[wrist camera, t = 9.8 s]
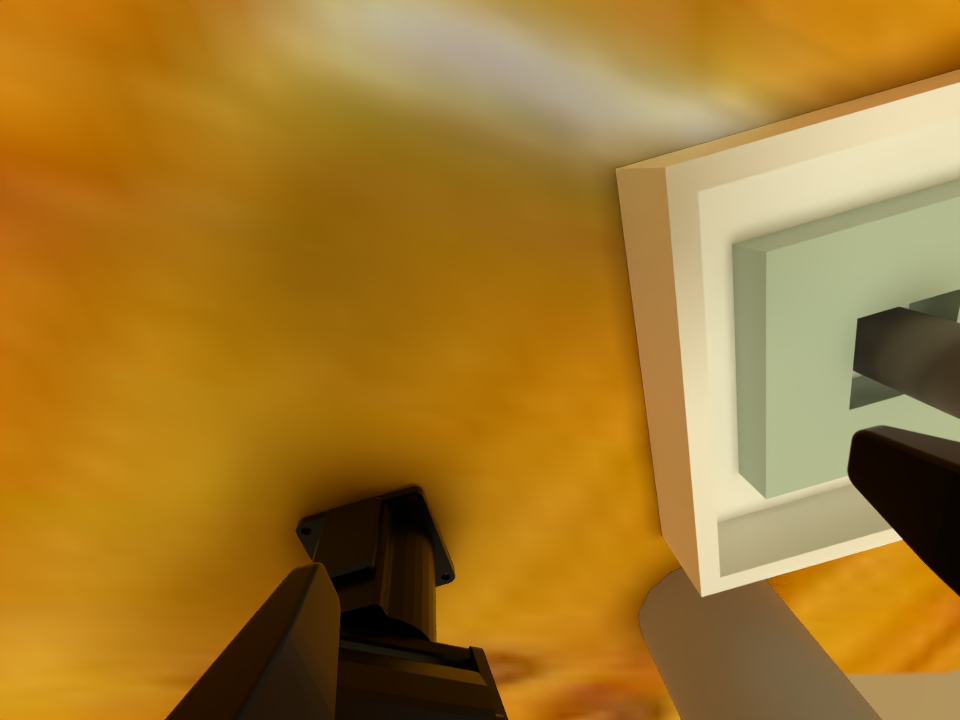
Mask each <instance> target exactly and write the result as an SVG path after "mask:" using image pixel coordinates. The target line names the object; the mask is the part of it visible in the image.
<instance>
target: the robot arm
mask: <svg viewBox="0 0 960 720" xmlns="http://www.w3.org/2000/svg"><path fill="white" fill-rule="evenodd" d="M847 473H848V477H849V479H850V481H851V483H852V484H853V485H854V487H855V488H856V489H857V490H858V491H859V492H860V493H861V494H862V495H863V497H864V498H865V499H866V500H867V501H868V502H869V503H870V504H871V505H872V506H873V507H874V509H875V510H876V511H877V512H878V513H879V514H880V515H881V516H882V517H883V518H884V520H885V521H886V522H887V523H888V524H889V525H890V526H891V527H892V528H893V529H894V530H895V532H896V533H897V534H898V535H899V536H900V537H901V538H902V539H903V540H904V541H905V542H906V544H907V545H908V546H909V547H910V548H911V549H912V550H913V551H914V552H915V553H916V554H917V555H918V557H919V558H920V559H921V560H922V561H923V562H924V563H925V564H926V565H927V566H928V567H929V568H930V569H931V570H932V571H933V572H934V573H935V574H936V575H937V576H938V577H939V578H940V579H941V580H942V581H943V582H944V583H946V584H947V585H948V586H949V587H950V588H951V589H952V590H953V591H954V592H955V593H956V594H957V595H958V596H959V597H960V442H958V441H954V440H949V439H945V438H940V437H936V436H931V435H927V434H922V433H918V432H913V431H909V430H904V429H900V428H895V427H891V426H886V425H878V426H873V427H869V428H865V429H861V430H858V431H856V432H855V433H854V435H853V436H852V439H851V446H850V452H849V459H848V466H847ZM412 496H416V497H418V498H416V499H412V498H410V497H412ZM304 527H309V528H310V529H306V528H304ZM296 533H297V535H298V537H299V539H300V541H301V542H302V544H303V546H304V547H305V549H306V551H307V553H308V554H309V556H310V558H311V560H312V562H311V564H307V565H303V566H298V567H296V568H294V569H293V570H292V571H291V572H290V573H289V574H288V576H287V577H286V578H285V579H284V580H283V581H282V583H281V584H280V585H279V586H278V587H277V588H276V590H275V591H274V592H273V593H272V594H271V595H270V597H269V598H268V599H267V600H266V601H265V603H264V604H263V605H262V606H261V607H260V608H259V610H258V611H257V612H256V613H255V614H254V615H253V617H252V618H251V619H250V620H249V621H248V622H247V624H246V625H245V626H244V627H243V628H242V630H241V631H240V632H239V633H238V634H237V635H236V637H235V638H234V639H233V640H232V641H231V642H230V644H229V645H228V646H227V647H226V648H225V650H224V651H223V652H222V653H221V654H220V655H219V657H218V658H217V659H216V660H215V661H214V662H213V664H212V665H211V666H210V667H209V668H208V669H207V671H206V672H205V673H204V674H203V675H202V677H201V678H200V679H199V680H198V681H197V682H196V684H195V685H194V686H193V687H192V688H191V689H190V691H189V692H188V693H187V694H186V695H185V696H184V698H183V699H182V700H181V701H180V702H179V704H178V705H177V706H176V707H175V708H174V709H173V711H172V712H171V713H170V714H169V715H168V716H167V718H166V719H165V720H508V718H507V715H506V712H505V709H504V706H503V704H502V701H501V698H500V695H499V692H498V690H497V687H496V684H495V681H494V679H493V676H492V673H491V670H490V667H489V665H488V662H487V659H486V656H485V654H484V651H483V649H482V648H477V647H472V646H470V647H469V648H464V647H459V646H453V645H448V644H443V643H438V642H436V593H435V587H437V586H441V585H444V584H448V583H450V582H452V581H453V580H454V578H455V571H454V567H453V564H452V562H451V559H450V557H449V554H448V552H447V549H446V547H445V544H444V542H443V539H442V537H441V534H440V532H439V529H438V527H437V524H436V522H435V519H434V517H433V514H432V512H431V509H430V507H429V504H428V502H427V499H426V497H425V494H424V492H423V490H422V489H420V488H419V487H410V488H406V489H403V490H399V491H396V492H392V493H389V494H385V495H382V496H378V497H373V498H370V499H366V500H363V501H359V502H356V503H352V504H349V505H345V506H342V507H338V508H335V509H332V510H329V511H326V512H323V513H319V514H316V515H312V516H309V517H305V518H303V519H301V520H300V521H299V522H298V525H297V528H296ZM446 573H447V574H446Z"/></svg>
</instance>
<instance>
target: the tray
mask: <svg viewBox="0 0 960 720" xmlns="http://www.w3.org/2000/svg"><path fill="white" fill-rule="evenodd" d="M615 170H616V178H617V186H618V194H619V202H620V210H621V217H622V225H623V233H624V241H625V249H626V257H627V264H628V272H629V280H630V288H631V296H632V304H633V312H634V319H635V327H636V335H637V343H638V351H639V359H640V367H641V374H642V382H643V390H644V398H645V406H646V414H647V421H648V429H649V437H650V445H651V453H652V461H653V469H654V476H655V484H656V492H657V500H658V508H659V516H660V523H661V531H662V537H663V538H664V540H665V541H666V543H667V545H668V546H669V548H670V549H671V551H672V552H673V554H674V555H675V557H676V558H677V560H678V562H679V563H680V565H681V566H682V568H683V569H684V571H685V572H686V574H687V576H688V577H689V579H690V580H691V582H692V583H693V585H694V586H695V588H696V589H697V591H698V593H699V594H700V596H701V597H704V596H708V595H711V594H715V593H718V592H722V591H725V590H729V589H732V588H735V587H739V586H742V585H746V584H749V583H753V582H756V581H760V580H763V579H767V578H770V577H774V576H777V575H781V574H784V573H788V572H791V571H795V570H798V569H802V568H805V567H809V566H812V565H816V564H819V563H823V562H826V561H830V560H833V559H837V558H840V557H844V556H847V555H851V554H854V553H858V552H861V551H865V550H868V549H872V548H875V547H879V546H882V545H886V544H889V543H893V542H896V541H900V540H903V539H902V538H901V537H900V536H899V535H898V534H897V533H896V532H895V530H894V529H893V528H892V527H891V526H890V525H889V524H888V523H887V522H886V521H885V520H884V518H883V517H882V516H881V515H880V514H879V513H878V512H877V511H876V510H875V509H874V507H873V506H872V505H871V504H870V503H869V502H868V501H867V500H866V499H865V498H864V497H863V495H862V494H861V493H860V492H859V491H858V490H857V489H856V488H855V487H854V485H853V484H852V483H851V481H850V479H849V477H848V473H847V466H848V459H849V452H850V446H851V439H852V436H853V435H854V433H855V432H856V431H858V430H861V429H865V428H869V427H873V426H878V425H886V426H891V427H895V428H900V429H904V430H909V431H913V432H918V433H922V434H927V435H931V436H936V437H940V438H945V439H949V440H954V441H958V442H960V419H958V418H956V417H954V416H951V415H949V414H947V413H945V412H943V411H940V410H938V409H936V408H934V407H932V406H929V405H927V404H925V403H923V402H921V401H918V400H916V399H914V398H912V397H910V396H907V395H905V394H903V393H901V392H899V391H896V390H894V389H892V388H890V387H888V386H885V385H883V384H881V383H879V382H877V381H874V380H872V379H870V378H868V377H866V376H863V375H861V374H859V373H857V372H855V371H853V362H854V351H855V339H856V328H857V319H858V318H861V317H865V316H868V315H871V314H875V313H878V312H882V311H885V310H889V309H892V308H896V307H899V306H900V307H903V308H907V309H911V310H914V311H918V312H921V313H925V314H929V315H932V316H936V317H940V318H943V319H947V320H951V321H954V322H958V323H960V69H958V70H955V71H951V72H948V73H944V74H941V75H938V76H934V77H931V78H927V79H924V80H920V81H917V82H913V83H910V84H906V85H903V86H900V87H896V88H893V89H889V90H886V91H882V92H879V93H875V94H872V95H868V96H865V97H862V98H858V99H855V100H851V101H848V102H844V103H841V104H837V105H834V106H830V107H827V108H824V109H820V110H817V111H813V112H810V113H806V114H803V115H799V116H796V117H792V118H789V119H786V120H782V121H779V122H775V123H772V124H768V125H765V126H761V127H758V128H754V129H751V130H748V131H744V132H741V133H737V134H734V135H730V136H727V137H723V138H720V139H716V140H713V141H710V142H706V143H703V144H699V145H696V146H692V147H689V148H685V149H682V150H678V151H675V152H672V153H668V154H665V155H661V156H658V157H654V158H651V159H647V160H644V161H640V162H637V163H634V164H630V165H627V166H623V167H620V168H616V169H615Z"/></svg>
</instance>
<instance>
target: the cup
mask: <svg viewBox="0 0 960 720" xmlns="http://www.w3.org/2000/svg"><path fill="white" fill-rule="evenodd" d="M638 615H639V622H640V629H641V634H642V636H643V638H644V640H645V642H646V645H647V647H648V649H649V651H650V653H651V655H652V658H653V660H654V662H655V664H656V666H657V668H658V670H659V673H660V675H661V677H662V679H663V681H664V683H665V686H666V688H667V690H668V692H669V694H670V696H671V698H672V701H673V703H674V705H675V707H676V709H677V711H678V713H679V716H680V718H681V720H882V719H881V718H880V717H879V715H878V714H877V713H876V712H875V711H874V709H873V708H872V707H871V706H870V705H869V703H868V702H867V701H866V700H865V699H864V697H863V696H862V695H861V694H860V693H859V692H858V690H857V689H856V688H855V687H854V685H853V684H852V683H851V682H850V681H849V679H848V678H847V677H846V676H845V675H844V673H843V672H842V671H841V670H840V669H839V667H838V666H837V665H836V664H835V663H834V661H833V660H832V659H831V658H830V657H829V655H828V654H827V653H826V652H825V651H824V649H823V648H822V647H821V646H820V645H819V643H818V642H817V641H816V640H815V639H814V637H813V636H812V635H811V634H810V633H809V631H808V630H807V629H806V628H805V627H804V625H803V624H802V623H801V622H800V621H799V619H798V618H797V617H796V616H795V614H794V613H793V612H792V611H791V610H790V608H789V607H788V606H787V605H786V604H785V602H784V601H783V600H782V599H781V598H780V596H779V595H778V594H777V593H776V592H775V590H774V589H773V588H772V587H771V586H770V584H769V583H768V582H767V581H766V580H765V579H763V580H760V581H756V582H753V583H749V584H746V585H742V586H739V587H735V588H732V589H729V590H725V591H722V592H718V593H715V594H711V595H708V596H704V597H701V596H700V594H699V593H698V591H697V589H696V588H695V586H694V585H693V583H692V582H691V580H690V579H689V577H688V576H687V574H686V572H685V571H684V569H683V568H679V569H677V570H675V571H673V572H670V573H669V574H668V575H667V576H666V577H665V578H664V579H663V580H661V581H660V582H659V583H658V584H657V585H656V586H655V587H654V588H653V589H651V590H650V591H649V592H648V594H647V596H646V599H645V601H644V603H643V605H642V607H641V609H640V611H639V614H638Z"/></svg>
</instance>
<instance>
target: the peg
mask: <svg viewBox="0 0 960 720" xmlns="http://www.w3.org/2000/svg"><path fill="white" fill-rule="evenodd" d="M853 371H855V372H857V373H859V374H861V375H863V376H866V377H868V378H870V379H872V380H874V381H877V382H879V383H881V384H883V385H885V386H888V387H890V388H892V389H894V390H896V391H899V392H901V393H903V394H905V395H907V396H910V397H912V398H914V399H916V400H918V401H921V402H923V403H925V404H927V405H929V406H932V407H934V408H936V409H938V410H940V411H943V412H945V413H947V414H949V415H951V416H954V417H956V418H958V419H960V323H958V322H954V321H951V320H947V319H943V318H940V317H936V316H932V315H929V314H925V313H921V312H918V311H914V310H911V309H907V308H903V307H900V306H899V307H896V308H892V309H889V310H885V311H882V312H878V313H875V314H871V315H868V316H865V317H861V318H858V319H857V328H856V339H855V351H854V362H853Z"/></svg>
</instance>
